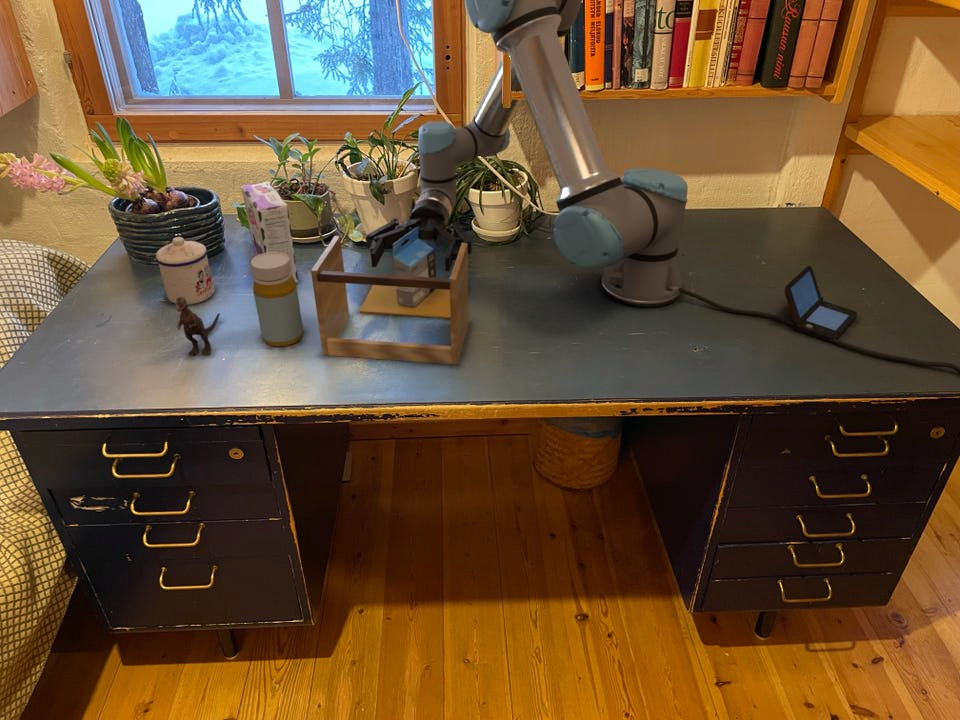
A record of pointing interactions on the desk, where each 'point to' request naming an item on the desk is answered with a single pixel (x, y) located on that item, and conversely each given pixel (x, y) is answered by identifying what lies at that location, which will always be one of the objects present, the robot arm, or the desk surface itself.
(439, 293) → the felt pad
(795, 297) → the handheld console
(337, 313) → the frame
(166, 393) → the desk surface
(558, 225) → the robot arm
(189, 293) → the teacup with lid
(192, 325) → the dinosaur model
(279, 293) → the bottle
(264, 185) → the candy box
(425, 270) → the label tape box
